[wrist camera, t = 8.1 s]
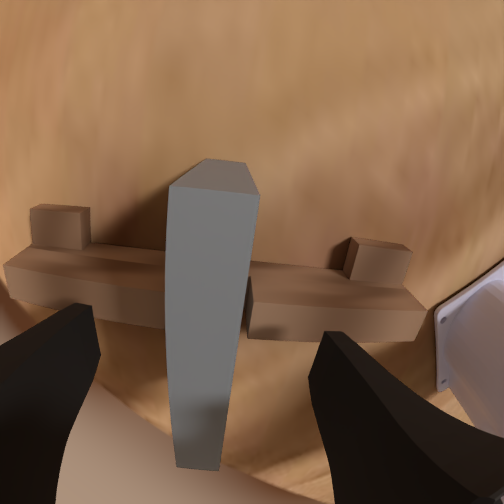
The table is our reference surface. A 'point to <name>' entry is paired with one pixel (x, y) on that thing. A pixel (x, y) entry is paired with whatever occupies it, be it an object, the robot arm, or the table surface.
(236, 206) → the grey long rectangular block
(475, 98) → the table surface
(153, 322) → the walnut slotted stand
